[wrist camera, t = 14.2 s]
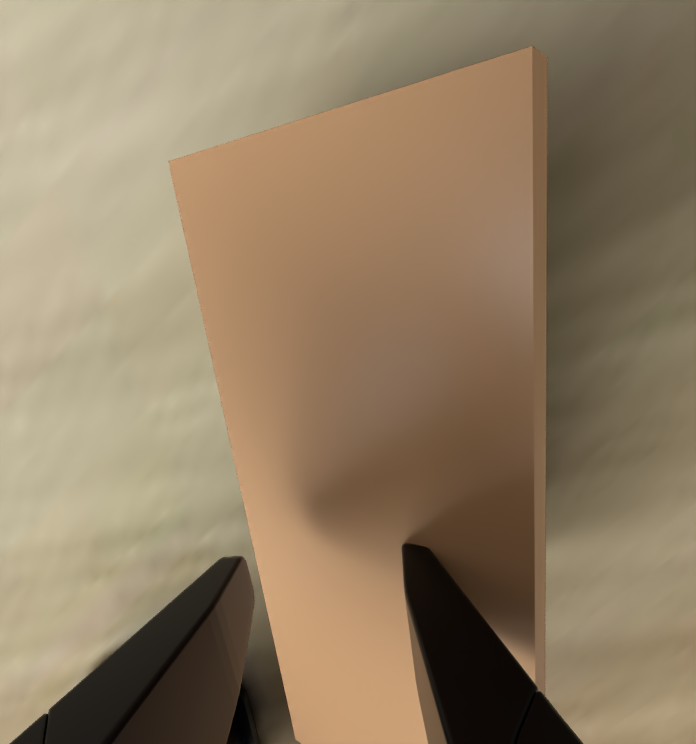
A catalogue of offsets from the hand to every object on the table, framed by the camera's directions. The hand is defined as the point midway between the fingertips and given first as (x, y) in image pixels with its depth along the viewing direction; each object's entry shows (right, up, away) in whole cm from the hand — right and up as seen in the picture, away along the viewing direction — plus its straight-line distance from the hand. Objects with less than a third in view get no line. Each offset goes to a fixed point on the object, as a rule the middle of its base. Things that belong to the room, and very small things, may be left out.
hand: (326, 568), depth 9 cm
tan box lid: (+1, 0, +1) cm, 1 cm away
